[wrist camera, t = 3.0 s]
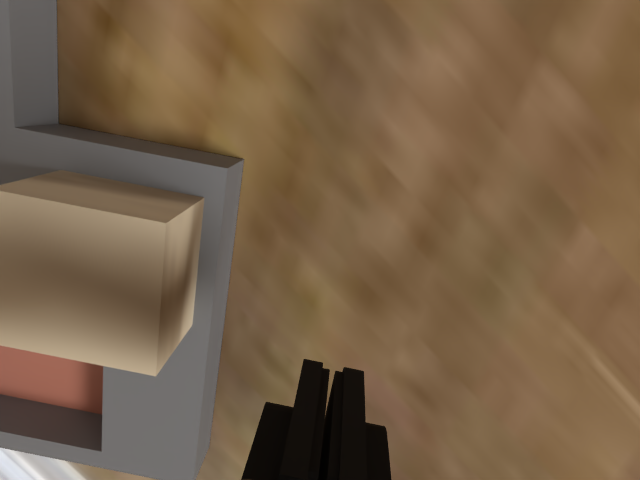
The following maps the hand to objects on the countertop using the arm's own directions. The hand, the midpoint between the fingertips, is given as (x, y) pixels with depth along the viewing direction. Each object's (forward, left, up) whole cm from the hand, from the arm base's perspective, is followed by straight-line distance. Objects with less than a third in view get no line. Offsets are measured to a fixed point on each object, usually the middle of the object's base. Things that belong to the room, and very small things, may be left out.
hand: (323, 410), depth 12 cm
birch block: (-1, -8, -6) cm, 10 cm away
